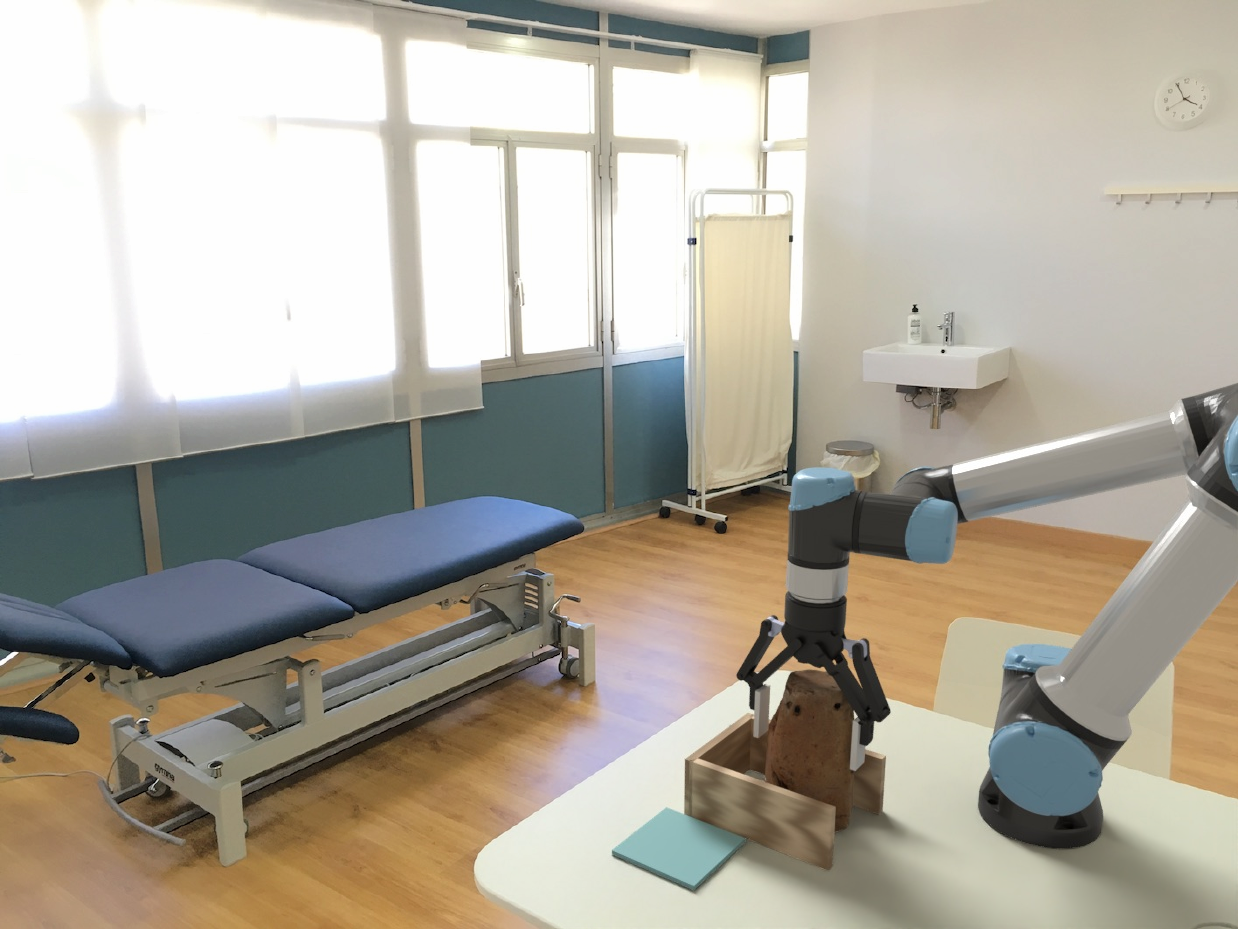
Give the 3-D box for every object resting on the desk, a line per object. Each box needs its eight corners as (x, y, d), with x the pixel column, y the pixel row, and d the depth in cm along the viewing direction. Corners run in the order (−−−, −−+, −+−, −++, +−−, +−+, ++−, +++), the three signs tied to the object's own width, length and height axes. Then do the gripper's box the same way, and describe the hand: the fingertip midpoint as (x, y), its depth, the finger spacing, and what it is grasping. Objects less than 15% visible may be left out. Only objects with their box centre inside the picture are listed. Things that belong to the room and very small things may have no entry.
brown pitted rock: (843, 806, 138) (850, 667, 134) (853, 838, 131) (861, 692, 126) (762, 804, 139) (766, 665, 134) (767, 836, 131) (772, 691, 127)
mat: (745, 842, 130) (745, 838, 130) (693, 890, 121) (693, 886, 121) (666, 811, 137) (666, 807, 137) (611, 854, 128) (611, 850, 128)
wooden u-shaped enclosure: (882, 810, 137) (886, 755, 135) (828, 871, 124) (831, 811, 122) (746, 763, 149) (747, 712, 147) (684, 814, 136) (684, 759, 135)
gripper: (925, 606, 123) (912, 767, 128) (743, 564, 138) (737, 711, 143) (901, 625, 118) (888, 793, 122) (714, 579, 132) (709, 731, 137)
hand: (807, 749), depth 133 cm, fingers open, 13 cm apart
